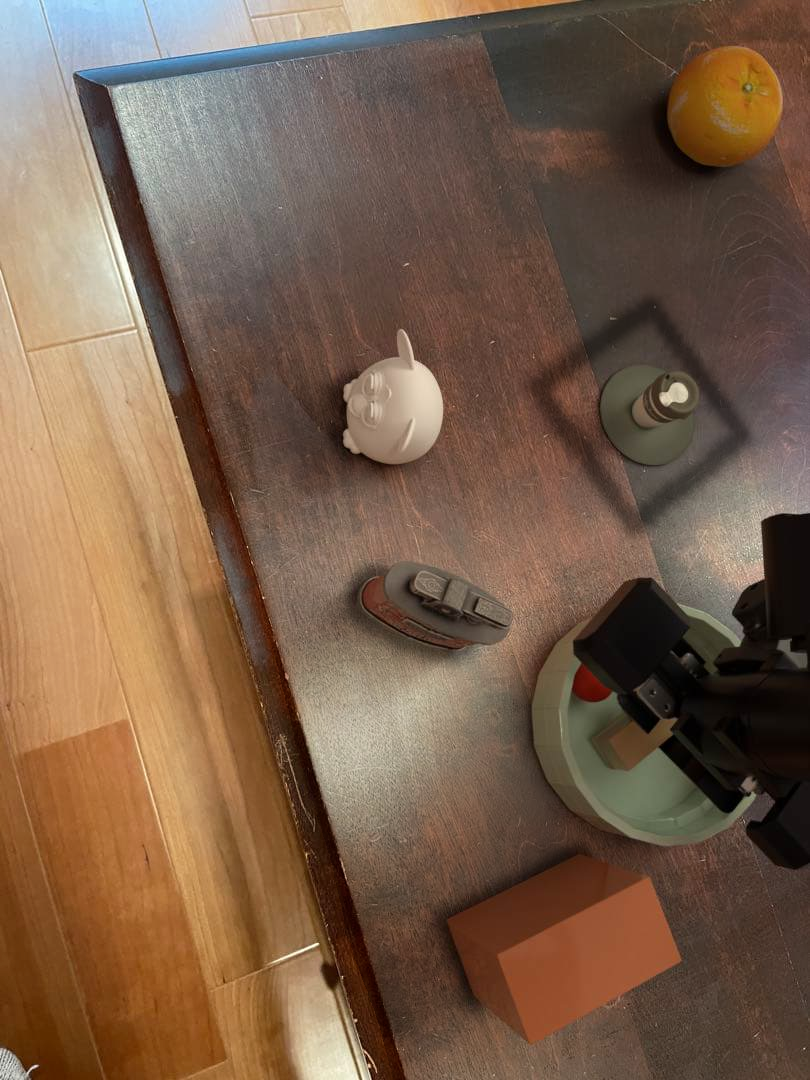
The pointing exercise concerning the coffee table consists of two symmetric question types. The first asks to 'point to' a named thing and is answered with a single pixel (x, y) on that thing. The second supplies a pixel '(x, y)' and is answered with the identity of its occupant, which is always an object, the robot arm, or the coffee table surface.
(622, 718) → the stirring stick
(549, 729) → the bowl
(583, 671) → the tomato ball
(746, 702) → the robot arm
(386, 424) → the figurine
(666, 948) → the rectangular block
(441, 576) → the lighter
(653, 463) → the coffee cup
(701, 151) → the fruit
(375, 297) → the coffee table surface
